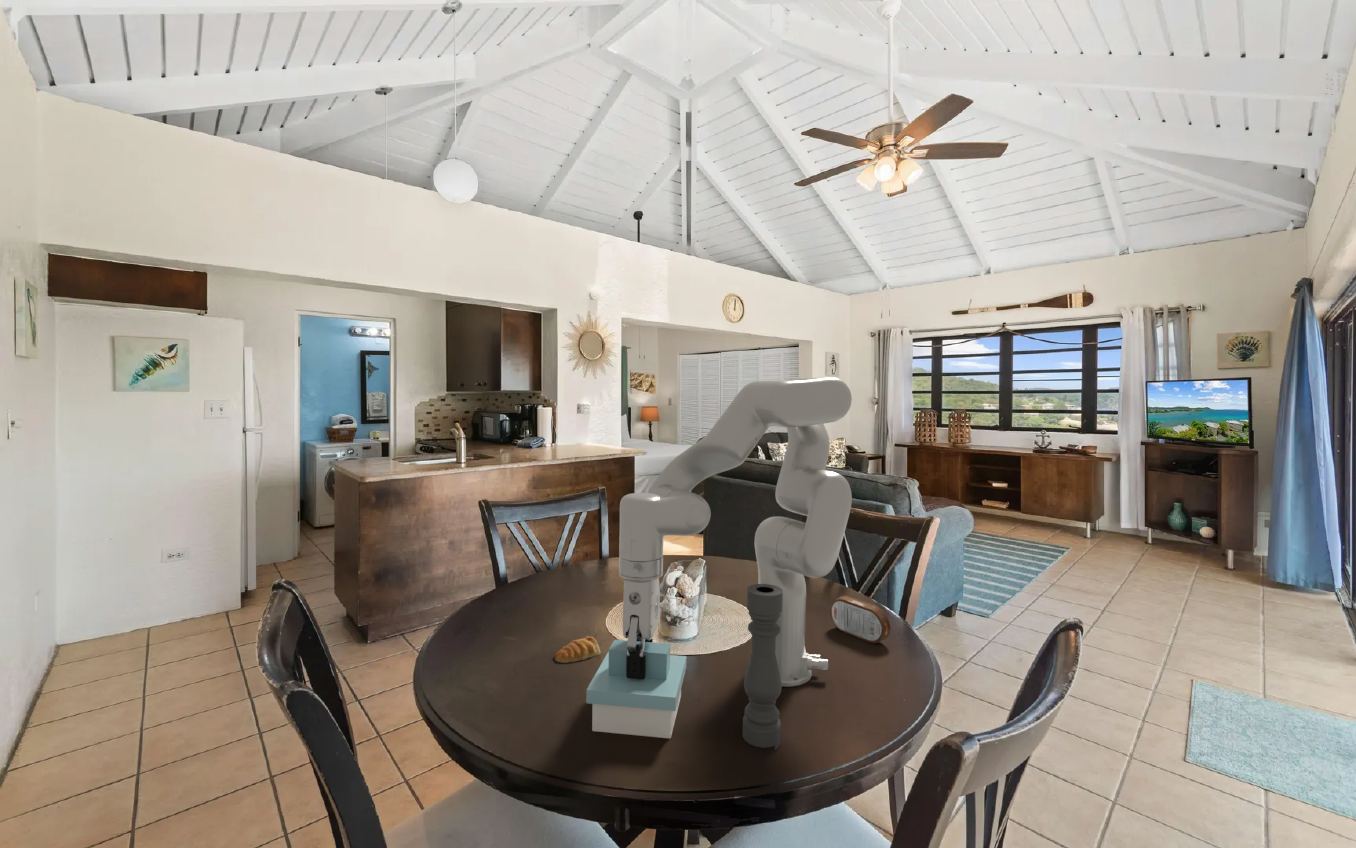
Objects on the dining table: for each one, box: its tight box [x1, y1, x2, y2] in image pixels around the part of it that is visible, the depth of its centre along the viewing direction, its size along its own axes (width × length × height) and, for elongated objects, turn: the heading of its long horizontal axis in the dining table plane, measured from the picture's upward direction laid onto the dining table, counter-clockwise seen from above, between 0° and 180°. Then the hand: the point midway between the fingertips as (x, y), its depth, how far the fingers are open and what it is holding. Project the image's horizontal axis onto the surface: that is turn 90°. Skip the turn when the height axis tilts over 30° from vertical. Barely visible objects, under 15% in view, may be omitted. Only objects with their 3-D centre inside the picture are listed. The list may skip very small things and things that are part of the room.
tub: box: [591, 690, 682, 740], centre depth 100 cm, size 13×13×7 cm
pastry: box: [554, 635, 601, 664], centre depth 121 cm, size 9×7×4 cm
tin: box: [829, 595, 891, 644], centre depth 135 cm, size 15×3×8 cm, turn 38°
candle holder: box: [741, 583, 783, 751], centre depth 93 cm, size 6×6×25 cm
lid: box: [585, 639, 687, 711], centre depth 99 cm, size 15×15×7 cm
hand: (639, 668), depth 99 cm, fingers open, 5 cm apart
